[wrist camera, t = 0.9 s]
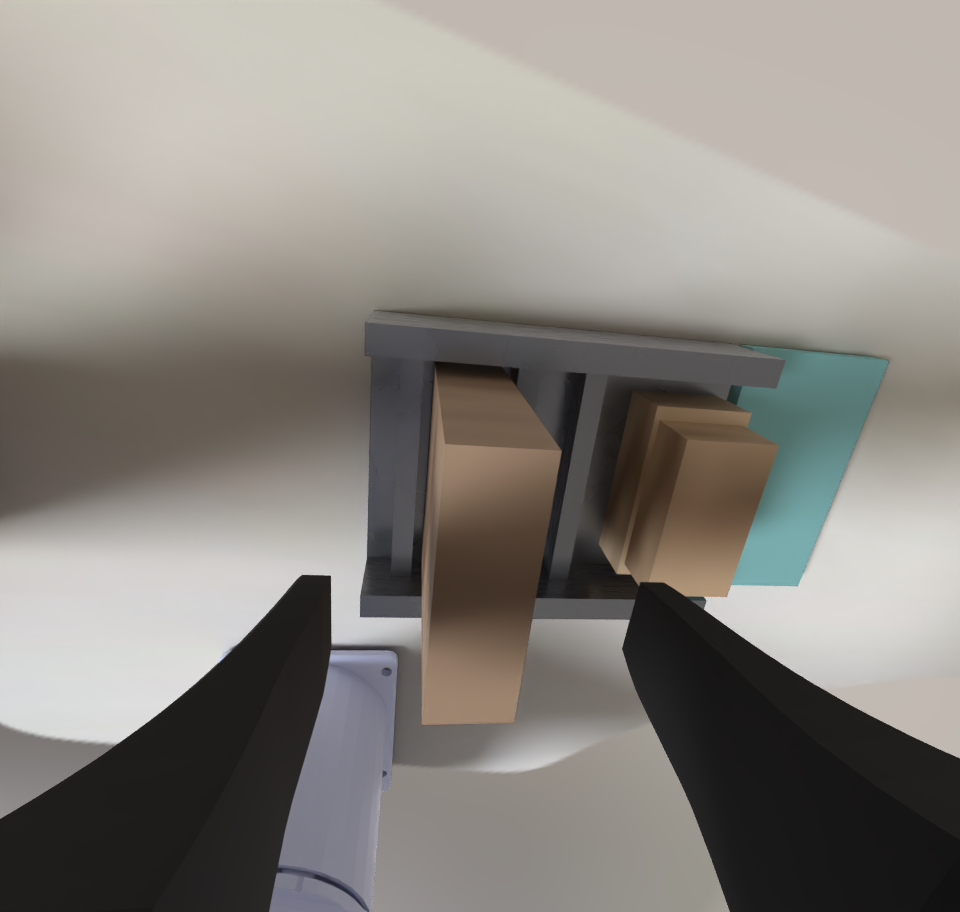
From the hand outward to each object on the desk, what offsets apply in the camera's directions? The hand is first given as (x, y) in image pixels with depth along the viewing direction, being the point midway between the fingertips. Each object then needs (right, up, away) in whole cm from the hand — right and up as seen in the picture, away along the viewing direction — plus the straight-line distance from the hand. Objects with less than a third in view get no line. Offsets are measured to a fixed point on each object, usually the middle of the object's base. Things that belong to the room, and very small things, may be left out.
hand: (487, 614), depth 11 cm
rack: (+2, +3, +9) cm, 10 cm away
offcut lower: (+7, +3, +9) cm, 12 cm away
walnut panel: (-1, +3, +8) cm, 9 cm away
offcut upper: (+7, +2, +7) cm, 11 cm away
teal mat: (+13, +3, +11) cm, 17 cm away
